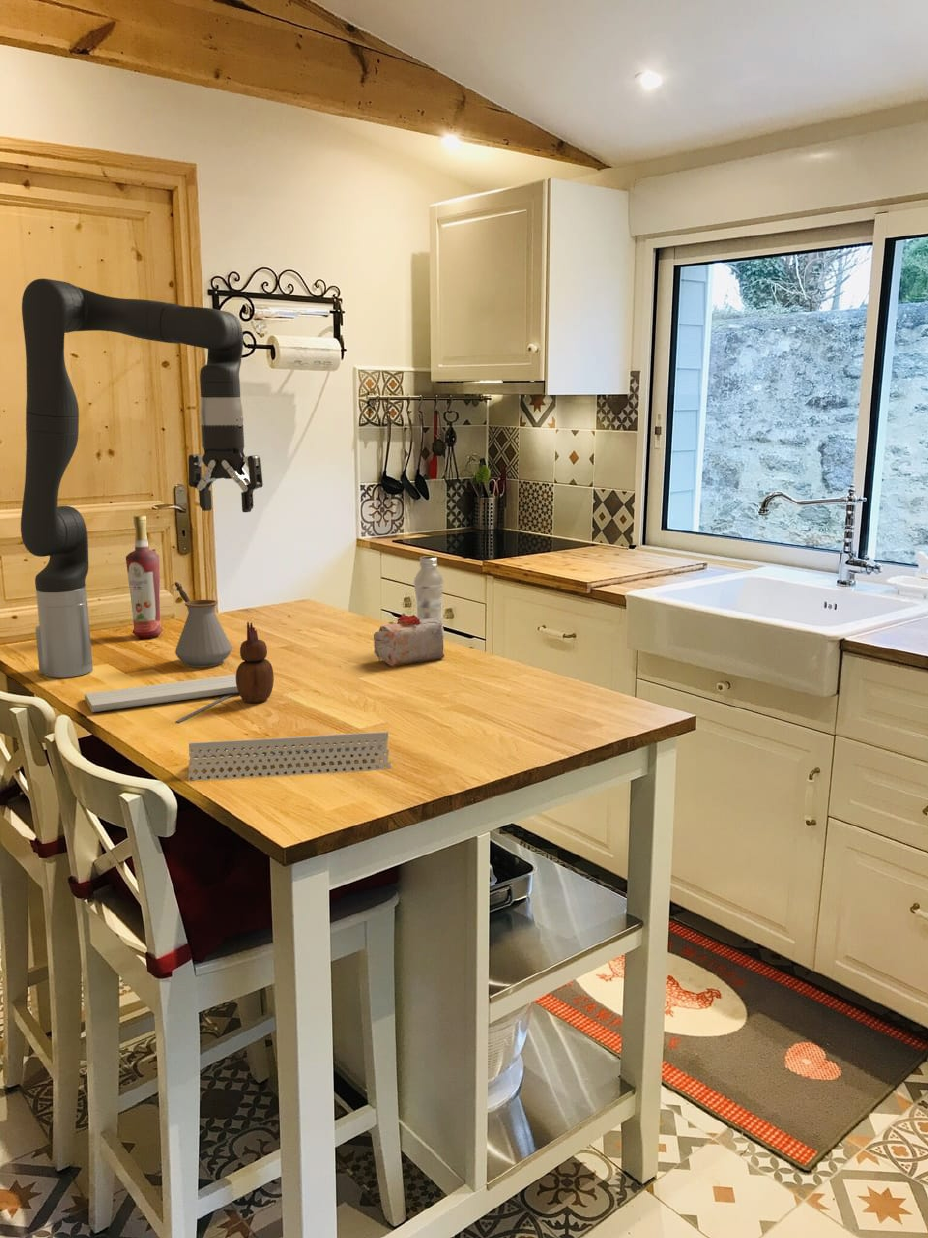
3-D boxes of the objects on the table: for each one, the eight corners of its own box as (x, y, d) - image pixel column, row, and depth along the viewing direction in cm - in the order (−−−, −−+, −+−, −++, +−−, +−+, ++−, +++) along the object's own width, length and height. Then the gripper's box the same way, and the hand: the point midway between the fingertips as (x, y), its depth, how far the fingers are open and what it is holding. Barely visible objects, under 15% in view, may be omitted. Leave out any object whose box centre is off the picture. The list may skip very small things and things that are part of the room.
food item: (390, 669, 202) (389, 622, 200) (371, 661, 209) (370, 615, 207) (447, 660, 210) (446, 614, 208) (427, 652, 216) (427, 608, 214)
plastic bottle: (450, 645, 222) (449, 556, 218) (432, 652, 216) (431, 560, 212) (426, 642, 225) (425, 554, 221) (408, 648, 220) (407, 558, 216)
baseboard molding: (83, 698, 184) (92, 714, 173) (82, 682, 183) (91, 698, 172) (250, 676, 197) (267, 690, 187) (249, 662, 197) (266, 675, 186)
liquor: (170, 633, 235) (162, 514, 229) (154, 641, 228) (145, 518, 222) (142, 632, 236) (133, 514, 230) (125, 639, 229) (116, 517, 223)
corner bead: (187, 786, 142) (185, 753, 141) (194, 764, 151) (192, 733, 150) (391, 774, 147) (390, 741, 146) (386, 753, 155) (385, 723, 154)
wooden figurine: (254, 707, 177) (250, 625, 174) (231, 702, 180) (226, 621, 177) (280, 698, 183) (277, 618, 180) (257, 693, 186) (253, 614, 182)
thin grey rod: (175, 722, 169) (175, 721, 169) (234, 692, 186) (234, 691, 186) (179, 722, 169) (179, 721, 169) (238, 692, 186) (238, 691, 186)
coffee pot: (241, 664, 207) (237, 593, 204) (186, 672, 200) (182, 599, 197) (204, 644, 224) (200, 578, 221) (153, 651, 218) (148, 584, 214)
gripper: (177, 423, 182) (182, 512, 185) (245, 423, 178) (250, 514, 181) (200, 422, 189) (205, 508, 192) (266, 422, 185) (270, 510, 188)
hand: (226, 511), depth 187 cm, fingers open, 8 cm apart
